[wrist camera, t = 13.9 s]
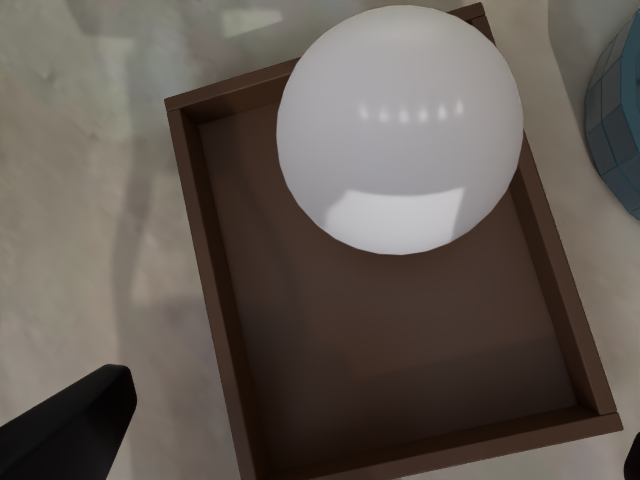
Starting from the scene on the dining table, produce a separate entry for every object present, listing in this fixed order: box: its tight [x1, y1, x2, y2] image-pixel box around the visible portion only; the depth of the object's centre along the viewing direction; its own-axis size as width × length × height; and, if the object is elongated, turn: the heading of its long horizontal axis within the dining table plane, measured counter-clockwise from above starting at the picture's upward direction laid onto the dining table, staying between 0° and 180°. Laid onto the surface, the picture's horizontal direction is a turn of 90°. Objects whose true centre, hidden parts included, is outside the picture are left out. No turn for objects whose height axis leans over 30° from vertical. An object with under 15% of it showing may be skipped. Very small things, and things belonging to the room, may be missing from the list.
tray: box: [164, 2, 624, 480], centre depth 20 cm, size 16×13×2 cm
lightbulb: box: [276, 5, 523, 255], centre depth 15 cm, size 6×6×11 cm
